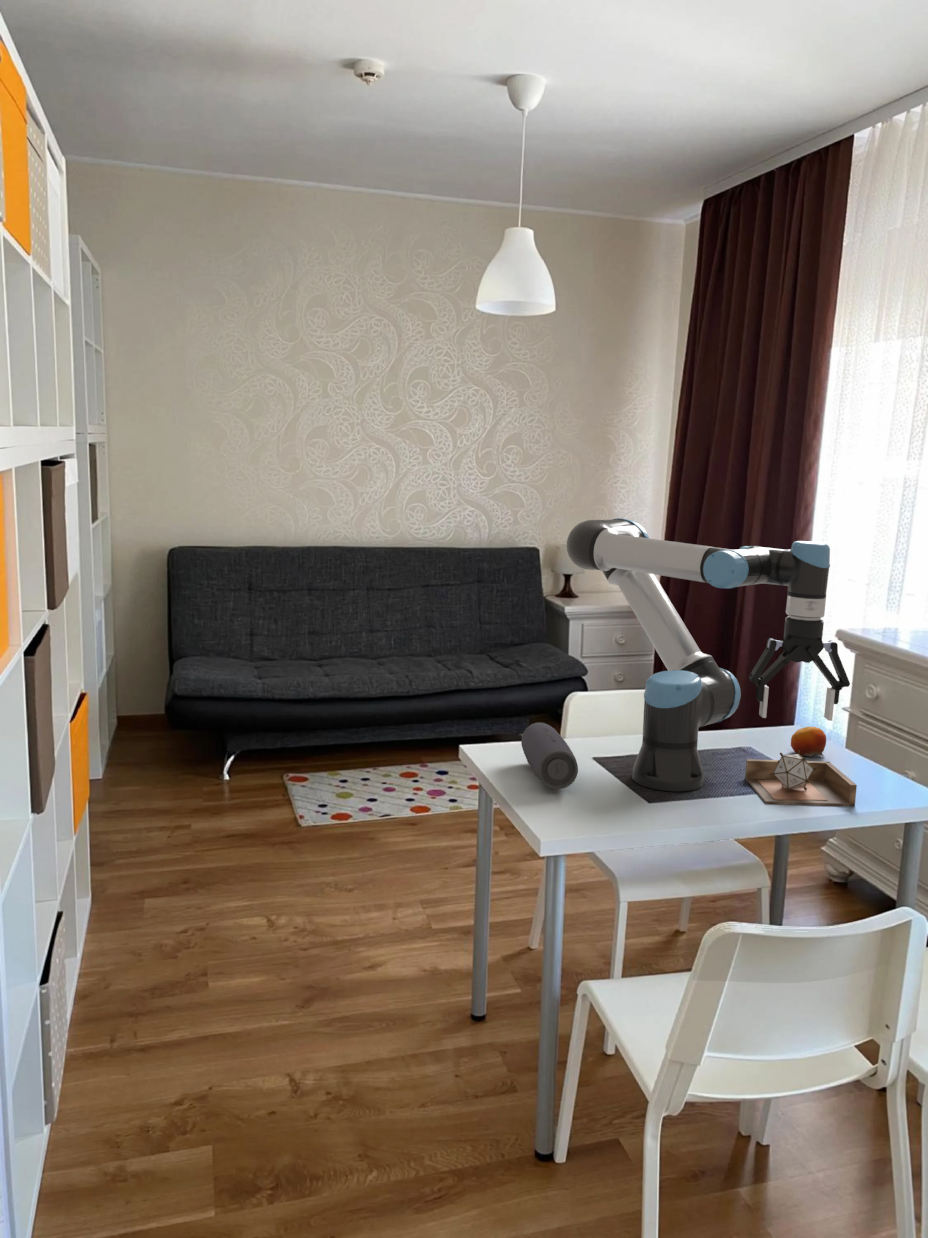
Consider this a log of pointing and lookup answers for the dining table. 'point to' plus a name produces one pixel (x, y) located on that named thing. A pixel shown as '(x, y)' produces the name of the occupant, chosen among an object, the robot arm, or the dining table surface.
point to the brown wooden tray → (822, 789)
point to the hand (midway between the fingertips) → (795, 717)
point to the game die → (793, 771)
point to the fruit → (809, 741)
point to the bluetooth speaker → (549, 756)
